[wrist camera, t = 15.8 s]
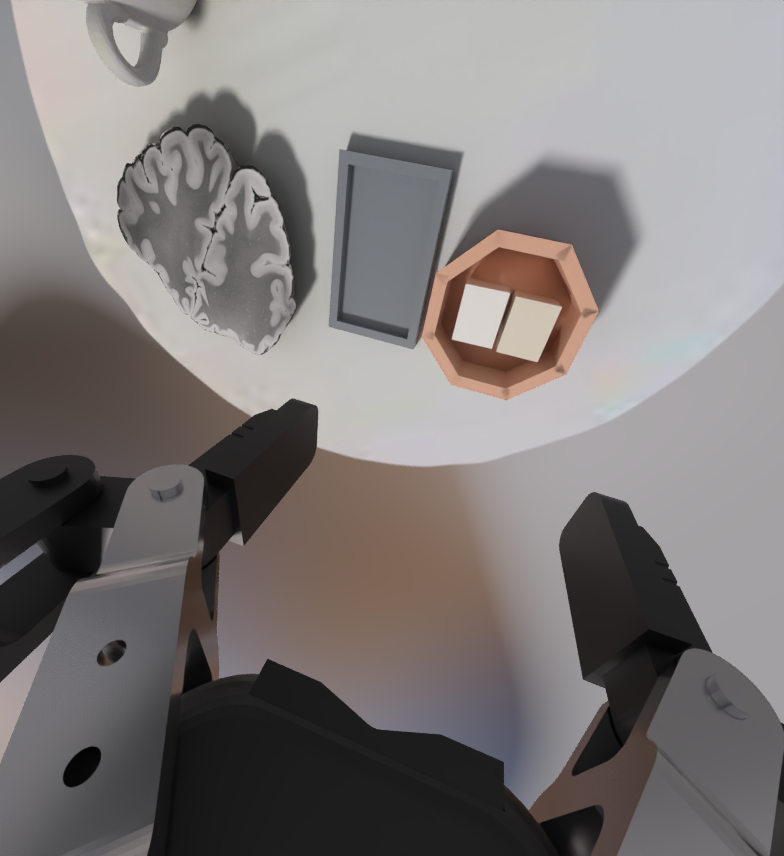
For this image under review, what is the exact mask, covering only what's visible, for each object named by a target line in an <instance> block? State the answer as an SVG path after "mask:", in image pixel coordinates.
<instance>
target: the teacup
mask: <svg viewBox="0 0 784 856" xmlns="http://www.w3.org/2000/svg"><path fill="white" fill-rule="evenodd" d="M82 1H83V2H85V3H87V4H88V7H87V14H86V23H87V28H88V33H89V36H90V39H91V42H92V44H93V46H94V48H95V50H96V52H97V54H98V56H99V57H100V58H101V60H102V61H103V63H104V64H105V65H106V67H107V68H108V69H109V70H110V71H111V72H112V73H113V74H114V75H115V76H116V77H118V78H119V79H120V80H122V81H123V82H125V83H127V84H129V85H132V86H138V87H140V86H146V85H149V84H151V83H152V82H153V81H154V80H155V79H156V77H157V75H158V72H159V68H160V64H161V56H162V48H164V47H166V45H167V43H168V36H167V33H168V31H170V30H173V29H174V28H176V27H178V26H179V25H181V24H182V23H183V22H184V21H185V20H186V18H187V17H188V16H189V15H190V13H191V11H192V9H193V8H194V6H195V4H196V1H197V0H82ZM114 22H117V23H123V24H125V25H127V26H130V27H132V28H134V29H137V30H139V31H140V33H141V47H140V55H139V59H138V62H137V64H136V65H135V67H133V66H131V65H130V64H129V63H128V62H127V61H126V60H125V58H124V57H123V56H122V54H121V53H120V51H119V49H118V47H117V45H116V43H115V40H114V36H113V29H112V25H113V23H114Z"/></svg>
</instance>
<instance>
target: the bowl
mask: <svg viewBox="0 0 784 856" xmlns="http://www.w3.org/2000/svg"><path fill="white" fill-rule="evenodd" d="M469 278H472V279H477V280H482V281H487V282H492V283H497V284H502V285H507V286H509V287H510V296H509V299H508V302H507V305H506V308H505V311H504V314H503V317H502V320H501V323H500V326H499V329H498V332H497V335H496V338H495V341H494V344H493V347H492V349H490V348H486V347H482V346H477V345H473V344H469V343H465V342H460V341H456V340H452V336H453V332H454V328H455V324H456V320H457V316H458V312H459V309H460V305H461V301H462V297H463V293H464V289H465V285H466V283H467V281H468V280H469ZM514 289H516V290H521V291H525V292H529V293H534V294H538V295H543V296H547V297H551V298H556V300H557V301H558V302H559V303H560V305H561V306H562V309H561V311H560V313H559V316H558V318H557V320H556V322H555V324H554V327H553V329H552V331H551V333H550V336H549V338H548V340H547V342H546V345H545V347H544V349H543V351H542V354H541V356H540V358H539V360H538V362H534V361H530V360H526V359H523V358H519V357H515V356H511V355H507V354H503V353H499V352H496V340H497V337H498V334H499V331H500V328H501V326H502V323H503V320H504V317H505V314H506V312H507V309H508V306H509V303H510V300H511V297H512V295H513V292H514ZM598 312H599V310H598V307H597V305H596V303H595V300H594V298H593V295H592V293H591V290H590V288H589V285H588V283H587V280H586V278H585V276H584V273H583V271H582V268H581V266H580V263H579V261H578V258H577V256H576V254H575V251H574V249H573V246H572V244H567V243H563V242H557V241H552V240H548V239H543V238H538V237H533V236H528V235H523V234H519V233H514V232H509V231H504V230H499V229H498V230H496V231H495V232H494V233H492V234H491V235H489V236H488V237H486V238H485V239H484V240H482V241H481V242H479V243H478V244H477V245H475V246H474V247H472V248H471V249H469V250H468V251H467V252H465V253H464V254H462V255H461V256H460V257H458V258H457V259H455V260H454V261H452V262H451V263H450V264H448V265H447V266H445V267H444V268H443V269H441V270H440V271H438V272H437V273H436V275H435V280H434V284H433V289H432V293H431V298H430V302H429V306H428V311H427V315H426V320H425V324H424V329H423V333H422V338H423V339H424V341H425V343H426V344H427V346H428V348H429V349H430V351H431V353H432V354H433V356H434V358H435V359H436V361H437V362H438V364H439V366H440V367H441V369H442V371H443V372H444V374H445V376H446V377H447V379H448V381H449V382H450V384H451V385H454V386H458V387H461V388H465V389H469V390H472V391H476V392H479V393H483V394H486V395H490V396H494V397H497V398H501V399H504V400H508V399H510V398H512V397H515V396H517V395H519V394H522V393H524V392H526V391H529V390H531V389H533V388H536V387H538V386H540V385H543V384H545V383H547V382H550V381H552V380H554V379H557V378H559V377H561V376H564V375H566V374H567V372H568V370H569V368H570V366H571V364H572V362H573V360H574V358H575V356H576V355H577V353H578V351H579V349H580V347H581V345H582V343H583V341H584V339H585V337H586V335H587V333H588V331H589V329H590V327H591V325H592V324H593V322H594V320H595V318H596V316H597V314H598Z"/></svg>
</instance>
